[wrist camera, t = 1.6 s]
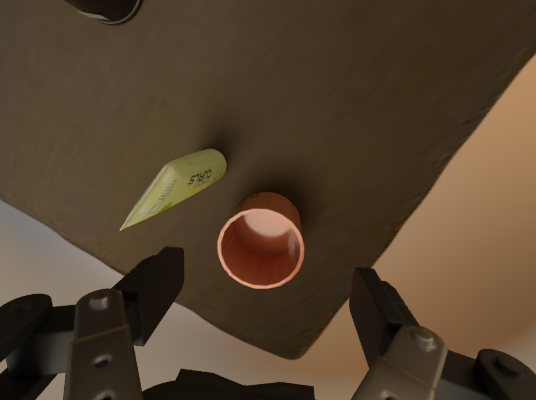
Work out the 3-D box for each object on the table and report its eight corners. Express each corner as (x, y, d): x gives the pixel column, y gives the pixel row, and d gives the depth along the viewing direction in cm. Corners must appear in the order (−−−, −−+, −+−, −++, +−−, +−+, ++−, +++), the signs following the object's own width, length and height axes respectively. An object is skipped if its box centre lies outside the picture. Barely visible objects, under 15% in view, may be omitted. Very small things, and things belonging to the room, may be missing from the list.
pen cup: (219, 231, 43) (201, 256, 34) (258, 177, 40) (249, 190, 31) (273, 269, 44) (269, 303, 35) (315, 219, 41) (322, 243, 32)
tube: (228, 184, 41) (175, 232, 22) (196, 184, 41) (117, 231, 22) (226, 147, 39) (167, 164, 20) (193, 148, 40) (105, 164, 21)
